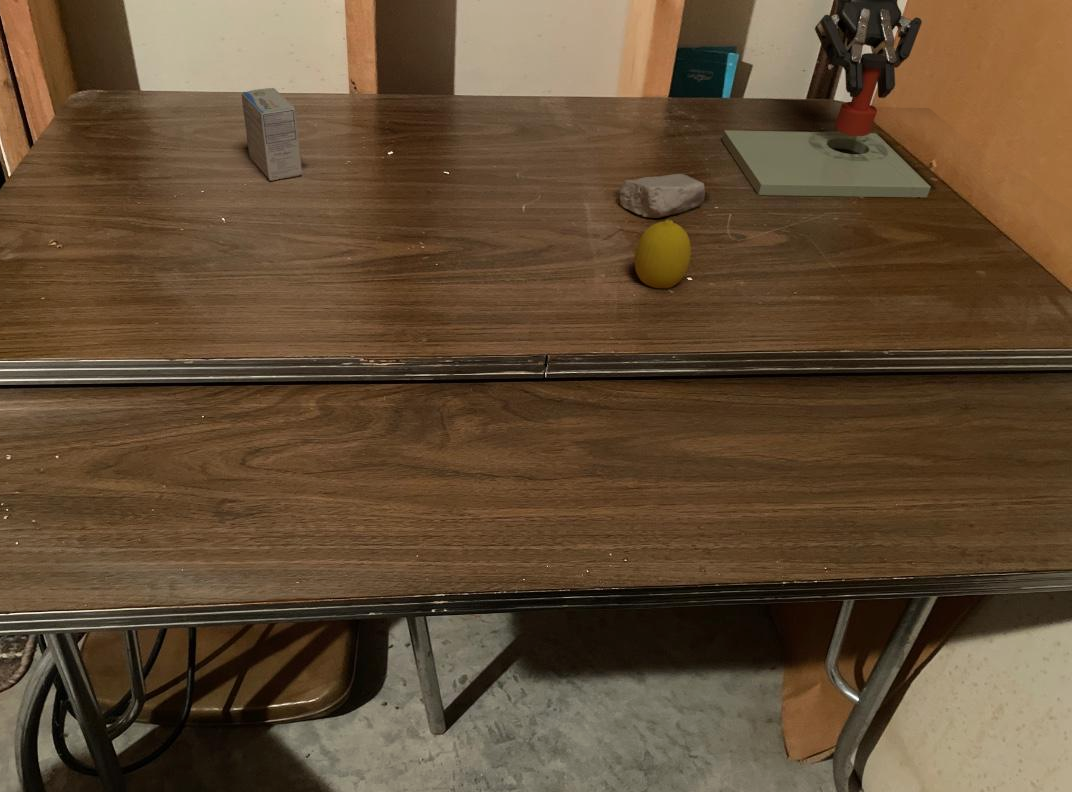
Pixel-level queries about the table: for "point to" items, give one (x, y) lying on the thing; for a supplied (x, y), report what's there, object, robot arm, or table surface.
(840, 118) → the stopper
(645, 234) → the lemon
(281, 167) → the medicine box
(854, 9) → the robot arm
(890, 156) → the drain plate
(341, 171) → the table surface
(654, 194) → the grey chipped rock
